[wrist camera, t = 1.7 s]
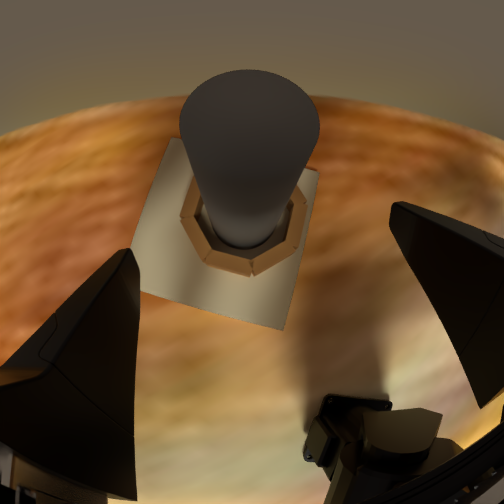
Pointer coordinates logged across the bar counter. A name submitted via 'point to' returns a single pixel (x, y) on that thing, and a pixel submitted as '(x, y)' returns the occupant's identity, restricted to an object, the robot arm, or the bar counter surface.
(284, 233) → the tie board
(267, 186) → the dark grey cylinder
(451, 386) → the bar counter surface
